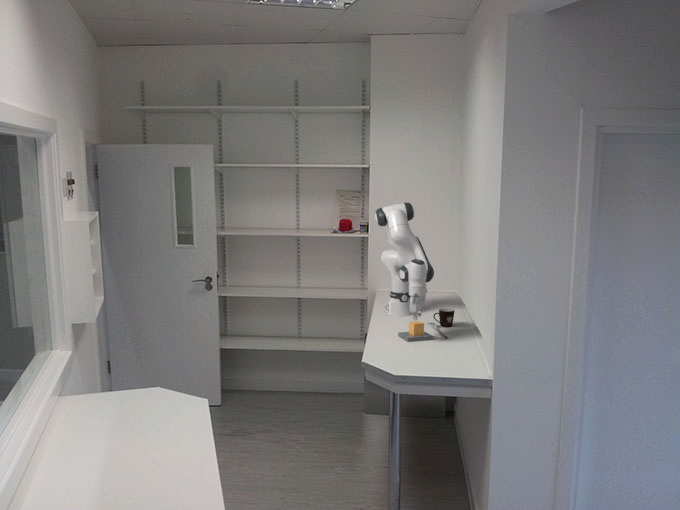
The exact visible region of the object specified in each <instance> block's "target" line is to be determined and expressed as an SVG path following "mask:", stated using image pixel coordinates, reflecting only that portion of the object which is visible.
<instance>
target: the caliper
mask: <svg viewBox="0 0 680 510" xmlns="http://www.w3.org/2000/svg"><path fill="white" fill-rule="evenodd" d="M427 324H428V325H430V324H431V325H430V327H431V328H433V329H434V330H435V331H437V332H438V333H439V334H440V335H441V336H442V337H444V338H445V339H449V337H448V336H447V335H446V334H445V333H443V332H442V331H441V329H439V328H440V327H441V326H440V324H436V323H435V322H428V323H427Z"/></svg>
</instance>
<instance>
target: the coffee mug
mask: <svg viewBox="0 0 680 510" xmlns="http://www.w3.org/2000/svg"><path fill="white" fill-rule="evenodd" d="M436 315H438V316H439V320H438V319H437V318H436V317H435V316H436ZM454 317H455V309H454V308H450V307H449V308H447V307H444V308H443V307H442V308H439V309H438V312H434V313H433V318H434V320H435V321H437V322H438V323H439V326H440V327H441V328H452V327H453V326H454Z"/></svg>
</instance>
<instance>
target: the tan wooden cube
mask: <svg viewBox="0 0 680 510" xmlns="http://www.w3.org/2000/svg"><path fill="white" fill-rule="evenodd" d="M408 322H409V323H408V332H409V334H411V335H413V336H418V335H424V332H425V323H423V322H422V321H419V320H416V321H408Z"/></svg>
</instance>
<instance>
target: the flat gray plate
mask: <svg viewBox="0 0 680 510" xmlns="http://www.w3.org/2000/svg"><path fill="white" fill-rule="evenodd" d="M397 336H398V338H400V339H402V340H404V341H405V342H408V343H411V342H421V341H422V342H423V341H434V335H433V334H431V333H428V332H426V331H424V335H418V336H413V335H411V334H409V331H399V332H397Z"/></svg>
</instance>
